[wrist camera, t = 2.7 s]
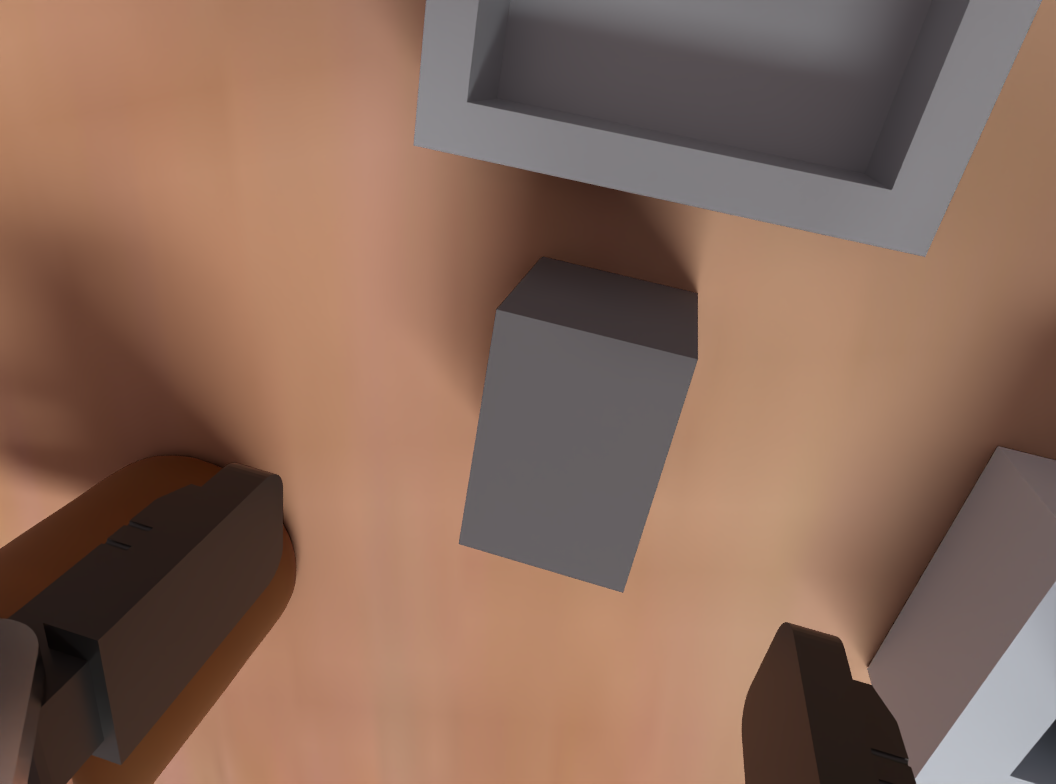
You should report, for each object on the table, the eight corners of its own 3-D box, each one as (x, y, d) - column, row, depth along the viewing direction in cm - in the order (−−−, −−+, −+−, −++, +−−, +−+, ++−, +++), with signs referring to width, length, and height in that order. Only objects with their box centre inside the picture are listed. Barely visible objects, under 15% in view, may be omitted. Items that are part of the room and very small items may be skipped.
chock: (699, 292, 17) (700, 360, 13) (640, 487, 19) (625, 593, 15) (541, 255, 17) (493, 308, 13) (504, 450, 20) (456, 543, 16)
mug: (109, 640, 28) (-136, 874, 20) (0, 490, 26) (-331, 687, 17) (341, 606, 24) (154, 883, 16) (238, 424, 22) (-47, 641, 13)
